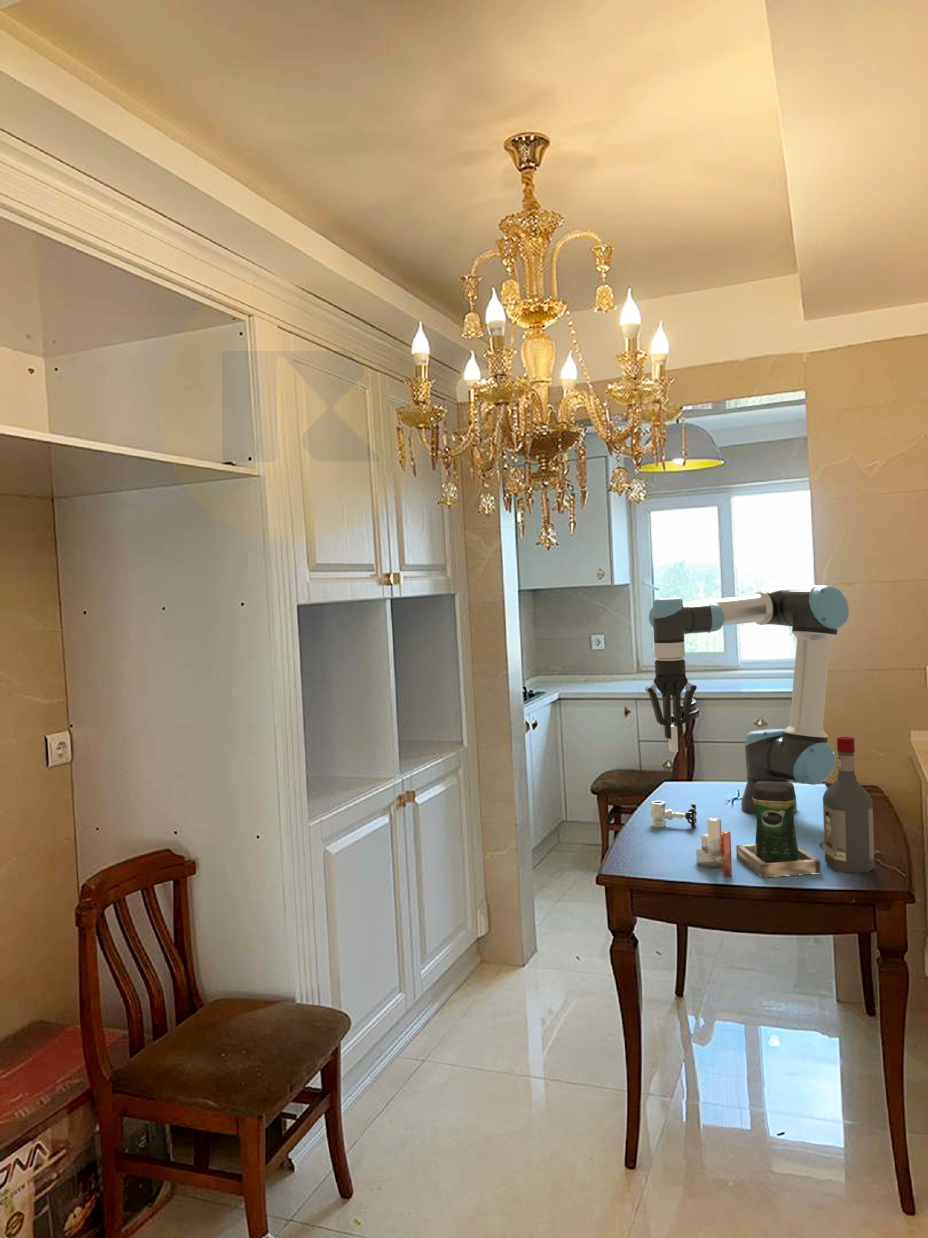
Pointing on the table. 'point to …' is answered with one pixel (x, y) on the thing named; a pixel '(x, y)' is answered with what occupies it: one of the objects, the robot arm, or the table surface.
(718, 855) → the crank
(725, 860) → the crank base
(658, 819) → the valve
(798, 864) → the tray
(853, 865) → the liquor
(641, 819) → the table surface
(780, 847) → the coffee jar
